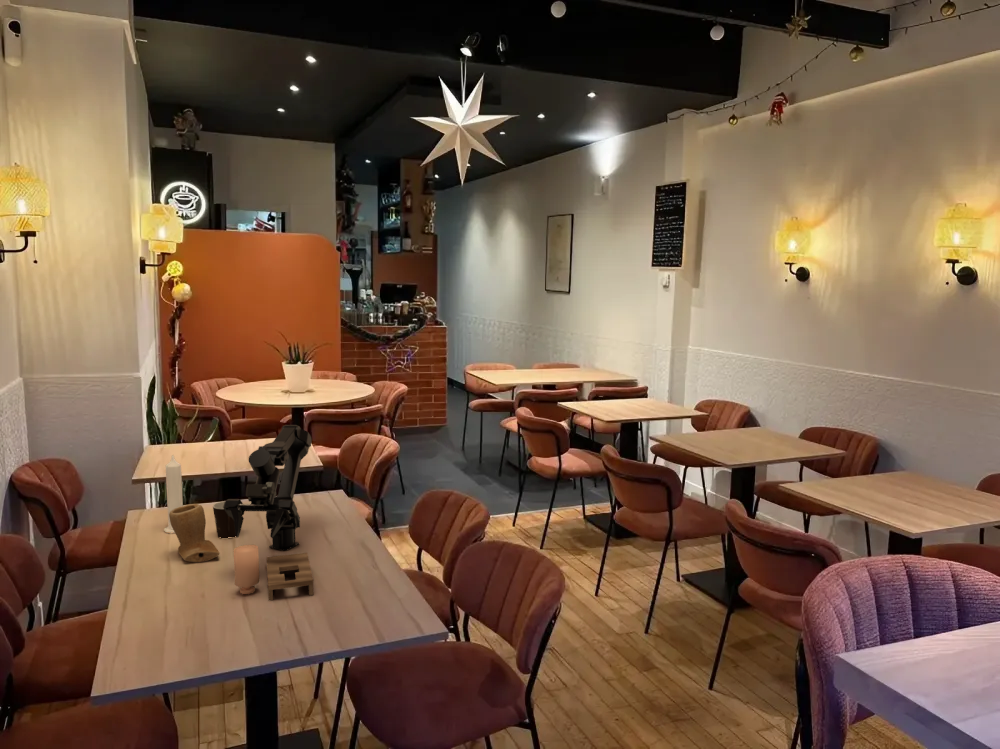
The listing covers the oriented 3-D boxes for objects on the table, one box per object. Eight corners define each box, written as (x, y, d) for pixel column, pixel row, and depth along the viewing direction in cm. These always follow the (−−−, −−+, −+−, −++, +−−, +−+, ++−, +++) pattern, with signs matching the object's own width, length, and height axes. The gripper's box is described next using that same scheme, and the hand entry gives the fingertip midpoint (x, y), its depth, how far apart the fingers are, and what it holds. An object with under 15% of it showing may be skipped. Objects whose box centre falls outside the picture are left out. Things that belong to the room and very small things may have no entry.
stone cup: (168, 551, 213) (166, 502, 211) (211, 544, 219) (209, 497, 217) (175, 568, 200) (173, 517, 198) (220, 560, 206) (218, 510, 204)
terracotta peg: (247, 585, 190) (246, 543, 188) (264, 589, 187) (263, 547, 186) (230, 593, 184) (228, 550, 183) (247, 598, 182) (246, 554, 180)
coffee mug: (220, 530, 231) (219, 500, 230) (247, 530, 231) (246, 501, 230) (205, 543, 220) (203, 511, 219) (232, 543, 220) (231, 512, 218)
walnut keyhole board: (266, 570, 199) (266, 557, 199) (307, 566, 203) (307, 552, 202) (268, 600, 180) (268, 585, 180) (313, 595, 184) (313, 580, 184)
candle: (180, 525, 236) (177, 451, 233) (192, 529, 232) (189, 454, 229) (159, 530, 230) (156, 455, 227) (171, 535, 226) (168, 458, 223)
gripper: (224, 470, 193) (209, 523, 184) (293, 471, 193) (282, 523, 184) (236, 490, 202) (222, 541, 193) (301, 491, 202) (291, 542, 193)
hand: (254, 537), depth 190 cm, fingers open, 9 cm apart
